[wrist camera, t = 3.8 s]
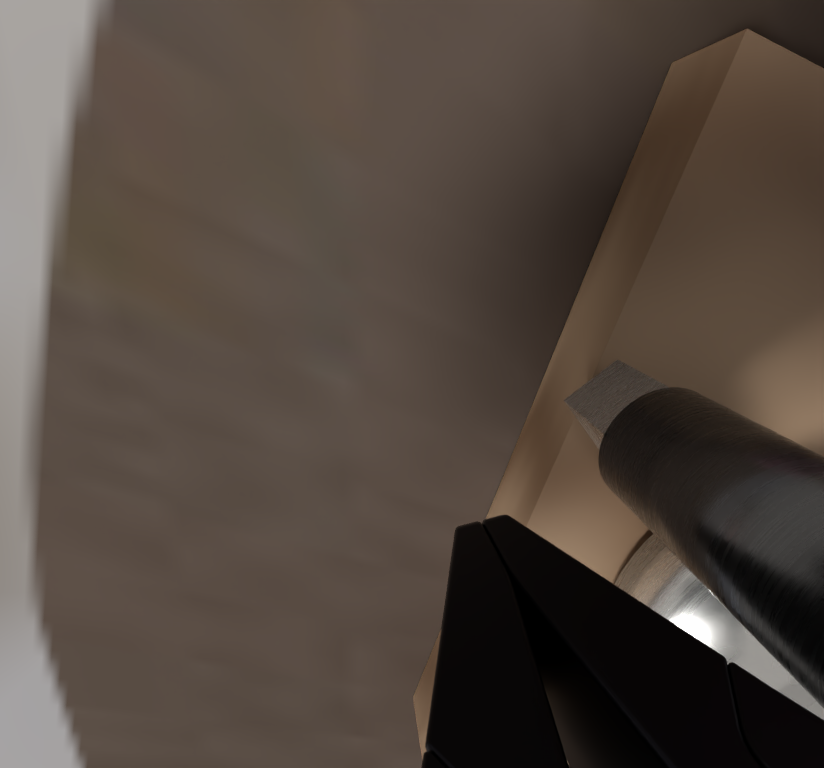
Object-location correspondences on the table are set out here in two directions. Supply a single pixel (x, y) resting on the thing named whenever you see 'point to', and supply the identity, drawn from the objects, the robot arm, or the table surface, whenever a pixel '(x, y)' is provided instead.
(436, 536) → the table surface
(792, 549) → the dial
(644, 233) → the stand
